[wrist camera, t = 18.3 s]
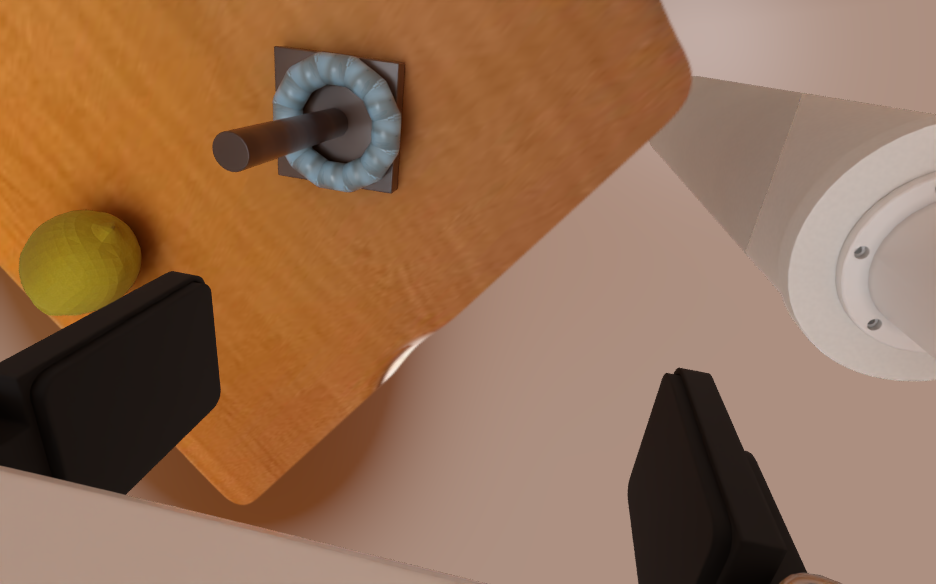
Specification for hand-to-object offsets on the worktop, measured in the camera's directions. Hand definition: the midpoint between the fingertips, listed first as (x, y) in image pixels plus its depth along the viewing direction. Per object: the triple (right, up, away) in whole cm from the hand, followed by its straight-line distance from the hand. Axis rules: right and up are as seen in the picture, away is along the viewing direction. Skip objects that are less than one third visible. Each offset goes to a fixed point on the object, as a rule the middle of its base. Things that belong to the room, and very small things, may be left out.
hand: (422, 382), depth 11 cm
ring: (-8, +14, +26) cm, 31 cm away
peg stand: (-8, +15, +29) cm, 33 cm away
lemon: (-30, +6, +37) cm, 48 cm away
